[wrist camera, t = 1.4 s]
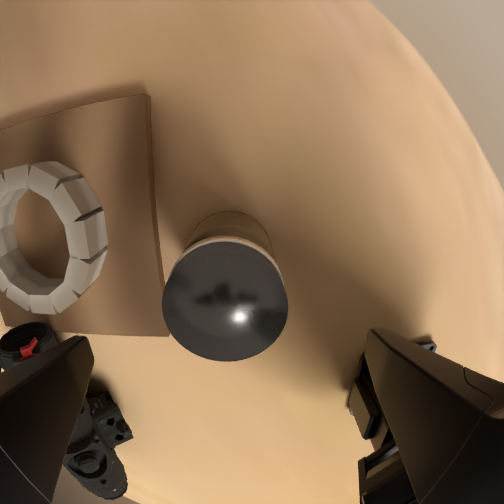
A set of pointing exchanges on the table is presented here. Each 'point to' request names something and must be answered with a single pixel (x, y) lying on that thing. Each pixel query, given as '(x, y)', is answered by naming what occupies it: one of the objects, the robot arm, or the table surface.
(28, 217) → the mount plate
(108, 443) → the night vision scope
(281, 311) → the lens
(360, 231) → the table surface
